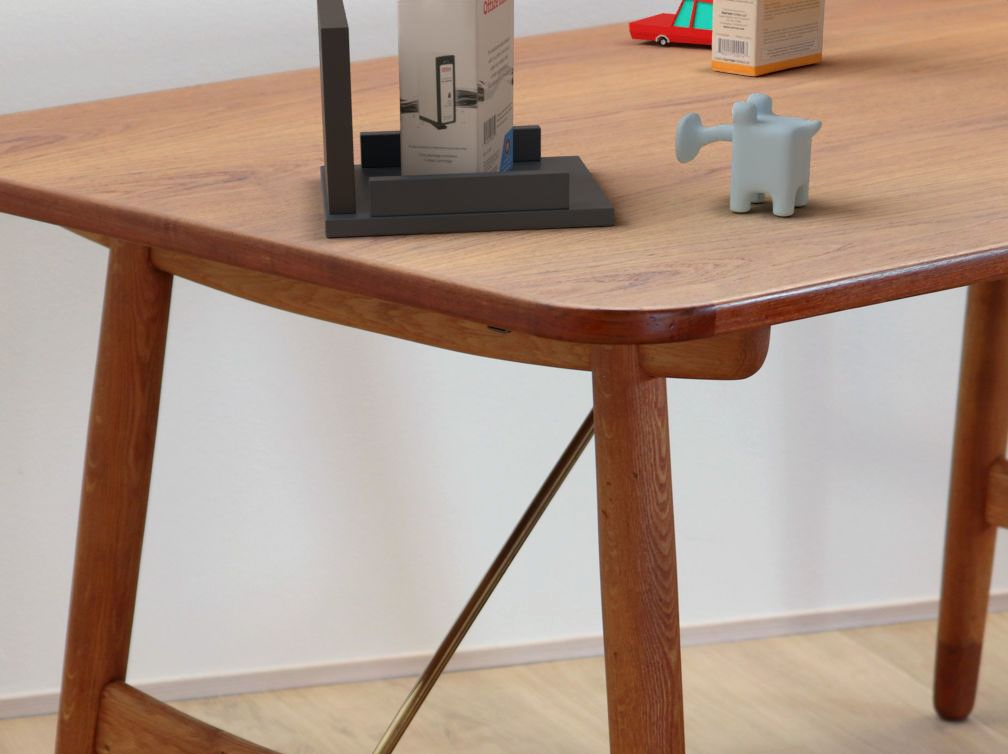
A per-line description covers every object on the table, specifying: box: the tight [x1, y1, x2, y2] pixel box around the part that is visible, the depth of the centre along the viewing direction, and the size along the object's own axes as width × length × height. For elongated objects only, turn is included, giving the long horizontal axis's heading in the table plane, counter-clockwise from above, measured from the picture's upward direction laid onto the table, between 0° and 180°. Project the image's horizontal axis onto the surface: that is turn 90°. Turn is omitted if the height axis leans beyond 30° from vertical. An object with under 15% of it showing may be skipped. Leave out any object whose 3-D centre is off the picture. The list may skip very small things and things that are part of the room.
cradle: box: [316, 0, 616, 238], centre depth 110 cm, size 14×16×11 cm
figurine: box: [674, 92, 823, 217], centre depth 109 cm, size 4×8×6 cm, turn 62°
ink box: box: [396, 0, 515, 176], centre depth 110 cm, size 9×5×12 cm, turn 164°
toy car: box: [628, 0, 713, 47], centre depth 162 cm, size 6×12×4 cm, turn 56°
